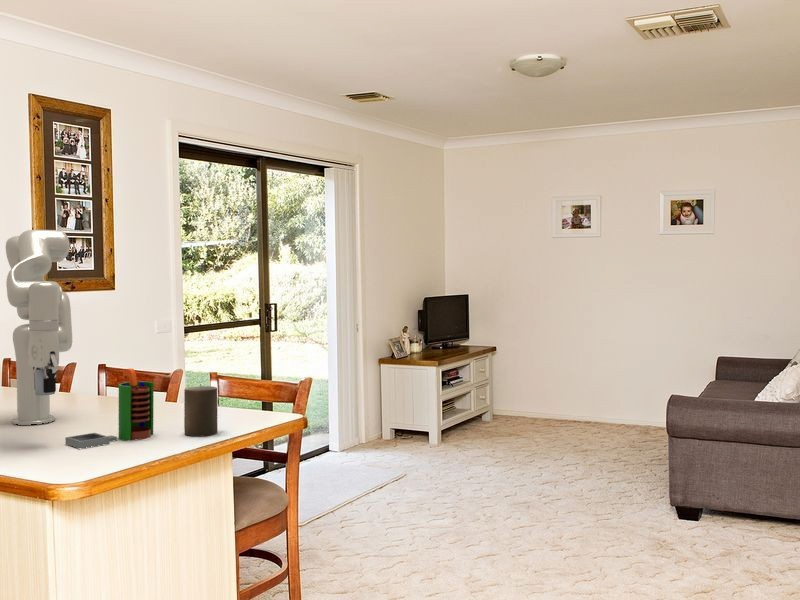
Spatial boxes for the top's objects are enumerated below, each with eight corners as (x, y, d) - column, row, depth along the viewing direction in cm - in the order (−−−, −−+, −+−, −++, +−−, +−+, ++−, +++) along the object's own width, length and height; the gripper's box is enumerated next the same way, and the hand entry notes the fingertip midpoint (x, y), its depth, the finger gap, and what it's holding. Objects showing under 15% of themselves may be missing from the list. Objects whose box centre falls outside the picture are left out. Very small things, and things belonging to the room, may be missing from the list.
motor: (139, 441, 227) (139, 371, 226) (111, 439, 229) (110, 370, 228) (157, 434, 237) (156, 367, 236) (130, 432, 239) (129, 366, 238)
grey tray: (65, 444, 223) (65, 437, 223) (106, 437, 232) (106, 430, 232) (80, 449, 217) (79, 441, 217) (121, 441, 226) (121, 434, 226)
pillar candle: (209, 437, 232) (209, 386, 232) (178, 435, 234) (178, 385, 233) (222, 431, 242) (222, 382, 241) (192, 429, 243) (192, 381, 243)
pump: (32, 394, 222) (31, 362, 222) (50, 391, 226) (49, 361, 226) (40, 396, 219) (39, 364, 219) (58, 393, 223) (57, 362, 222)
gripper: (17, 325, 225) (18, 389, 225) (43, 329, 213) (45, 396, 214) (44, 324, 230) (45, 386, 231) (71, 327, 219) (72, 393, 220)
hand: (45, 390), depth 223 cm, fingers closed on pump, 5 cm apart
